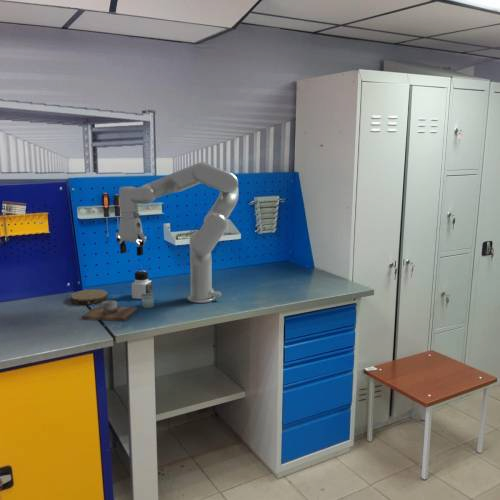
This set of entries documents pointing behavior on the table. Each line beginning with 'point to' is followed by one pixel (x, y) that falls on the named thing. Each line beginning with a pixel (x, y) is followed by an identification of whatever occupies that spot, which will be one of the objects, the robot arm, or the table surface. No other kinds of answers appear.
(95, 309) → the stud board
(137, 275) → the medicine bottle
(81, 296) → the wood slice
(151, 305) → the cap
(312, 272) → the table surface
